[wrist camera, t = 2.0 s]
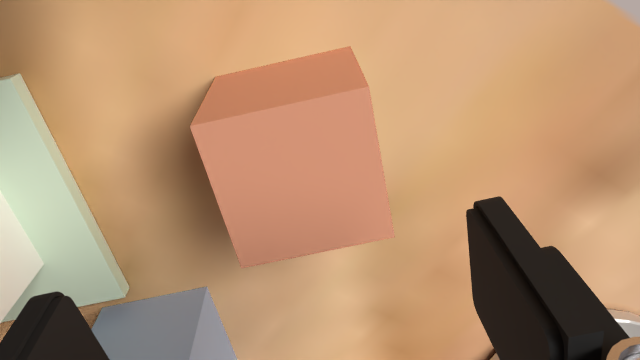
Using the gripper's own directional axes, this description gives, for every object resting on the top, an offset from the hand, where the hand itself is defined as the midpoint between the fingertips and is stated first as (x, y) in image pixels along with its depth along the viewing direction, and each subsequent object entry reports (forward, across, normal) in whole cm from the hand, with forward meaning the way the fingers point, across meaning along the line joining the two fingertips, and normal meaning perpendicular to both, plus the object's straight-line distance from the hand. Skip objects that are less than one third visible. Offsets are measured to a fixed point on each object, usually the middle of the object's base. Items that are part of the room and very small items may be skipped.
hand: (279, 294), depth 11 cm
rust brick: (+12, -1, +1) cm, 12 cm away
